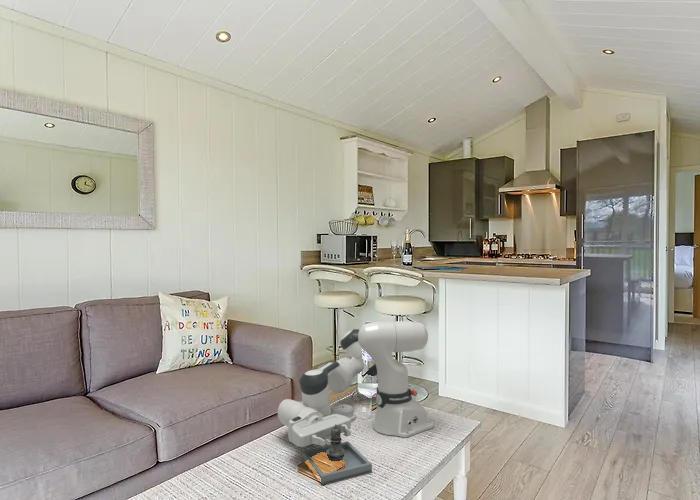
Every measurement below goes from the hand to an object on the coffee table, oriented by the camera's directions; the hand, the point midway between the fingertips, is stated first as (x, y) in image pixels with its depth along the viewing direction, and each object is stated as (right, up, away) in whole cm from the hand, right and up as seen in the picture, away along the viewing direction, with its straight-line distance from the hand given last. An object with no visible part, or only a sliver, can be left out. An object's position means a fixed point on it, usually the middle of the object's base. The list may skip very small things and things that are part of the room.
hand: (337, 438), depth 134 cm
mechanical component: (+1, -8, +37) cm, 38 cm away
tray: (0, -9, +1) cm, 9 cm away
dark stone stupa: (-1, -8, +1) cm, 8 cm away
